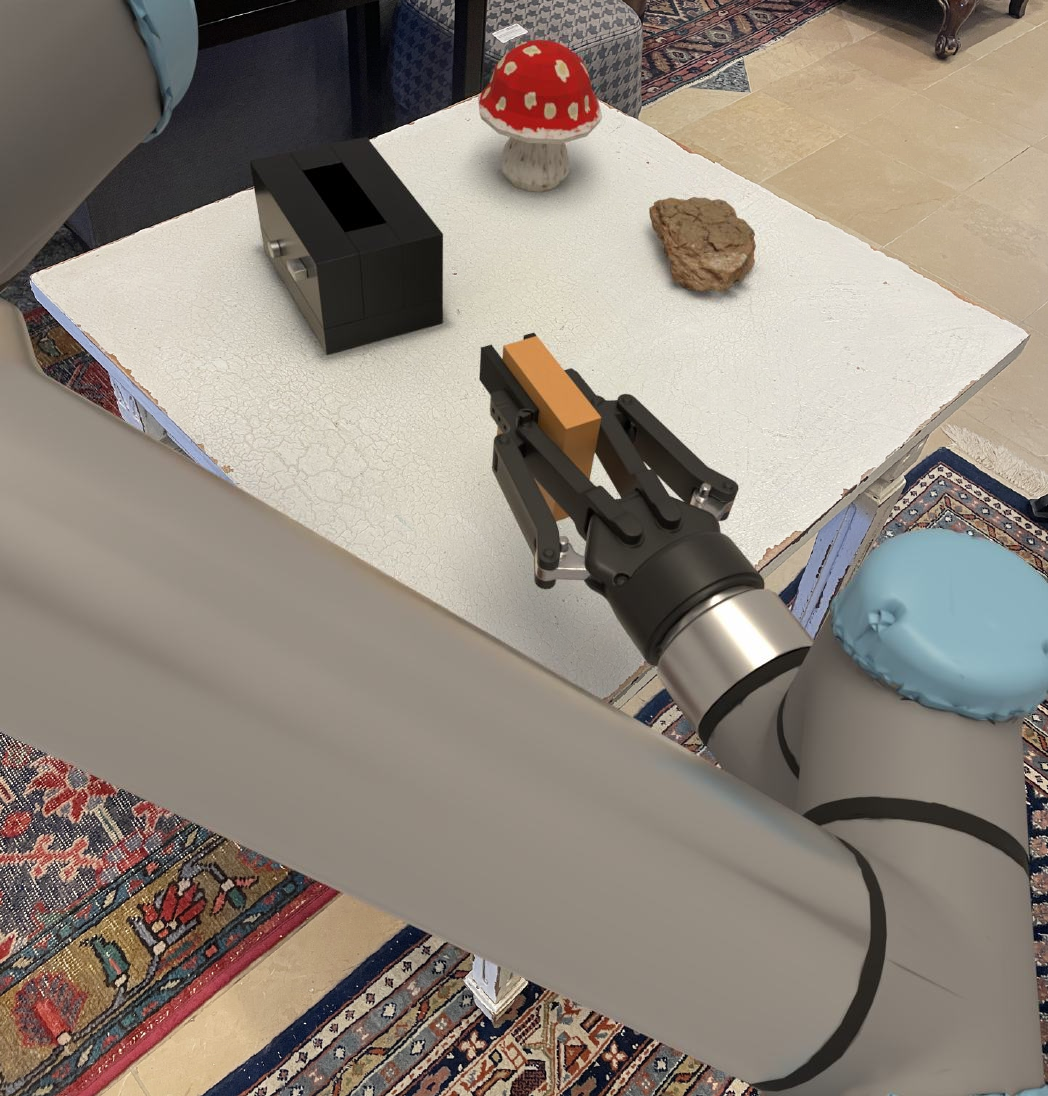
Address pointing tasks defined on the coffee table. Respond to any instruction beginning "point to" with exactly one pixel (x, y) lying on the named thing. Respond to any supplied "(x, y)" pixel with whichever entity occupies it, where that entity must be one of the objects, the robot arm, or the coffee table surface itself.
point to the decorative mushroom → (539, 111)
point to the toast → (555, 406)
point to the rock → (704, 242)
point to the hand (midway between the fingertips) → (506, 356)
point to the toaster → (349, 243)
